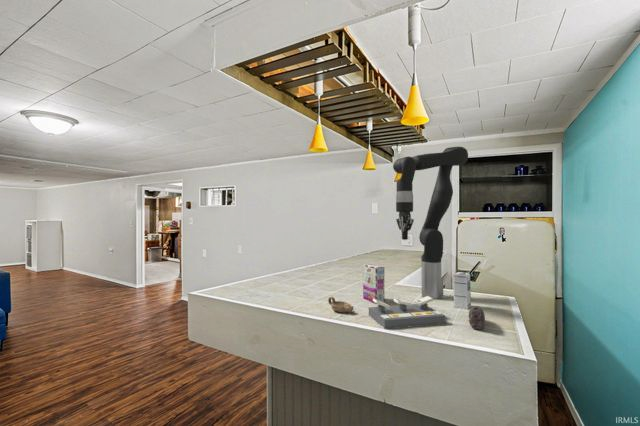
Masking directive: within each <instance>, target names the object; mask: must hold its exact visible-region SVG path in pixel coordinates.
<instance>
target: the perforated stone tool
mask: <svg viewBox="0 0 640 426" xmlns="http://www.w3.org/2000/svg"><path fill="white" fill-rule="evenodd" d="M468 322H469V326H470V327H471V328H473V329H475V330H483V329H484V327H485V324H486V316H485V312H484V310H483V309H482V307H480V306H478V305H474V306H471V307H470V309H469V311H468Z"/></svg>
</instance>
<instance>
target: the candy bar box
mask: <svg viewBox="0 0 640 426" xmlns="http://www.w3.org/2000/svg"><path fill="white" fill-rule="evenodd" d="M362 269H363V271H362V278H363V279H362V281H363V283H362V288H363V289H362V294H363V295H362V296H363V297H362V298H363V299H364V300H367V301H369V302H372V303H374V304H377V303H375V302H374V301H373V298H374V299H376V300H379V301H381V302H383V303H385V266H381V265H376V264H373V263H371V264H369V263H368V264H362ZM377 305H378V304H377Z"/></svg>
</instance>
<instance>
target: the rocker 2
mask: <svg viewBox="0 0 640 426" xmlns="http://www.w3.org/2000/svg"><path fill="white" fill-rule="evenodd" d="M433 301H434V299H433V298H431V297H429V296H426V297H422V298H419V299H416V300H414V304H417V305H419V306H420V305H423V304H426V303H427V304H428V303H430V302H433Z"/></svg>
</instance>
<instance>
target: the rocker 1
mask: <svg viewBox="0 0 640 426" xmlns="http://www.w3.org/2000/svg"><path fill="white" fill-rule="evenodd" d="M373 301H374V302H375V303H374V302H373V303H374V304H376V303H377V305H381V306H384V307H386V308H388V309H390V306H391V305H389V304H387V303H385V302H384V303H383V302H381V301H379V300H376V299H374V298H373Z"/></svg>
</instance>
